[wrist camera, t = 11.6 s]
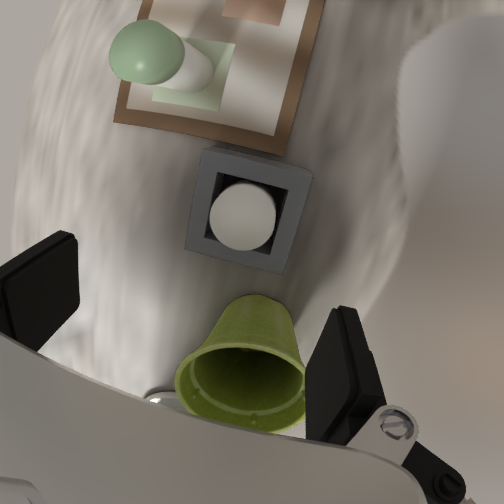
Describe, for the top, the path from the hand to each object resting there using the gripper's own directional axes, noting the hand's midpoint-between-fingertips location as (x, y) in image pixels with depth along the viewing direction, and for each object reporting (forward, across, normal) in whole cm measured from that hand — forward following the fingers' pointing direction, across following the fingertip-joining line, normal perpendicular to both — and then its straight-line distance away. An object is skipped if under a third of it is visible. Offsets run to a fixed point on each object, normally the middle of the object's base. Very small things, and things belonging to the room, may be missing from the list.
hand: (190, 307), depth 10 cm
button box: (+14, 0, 0) cm, 14 cm away
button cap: (+12, 0, 0) cm, 12 cm away
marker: (+13, +6, -9) cm, 17 cm away
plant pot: (+14, -3, +10) cm, 18 cm away
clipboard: (+14, +4, -12) cm, 19 cm away
